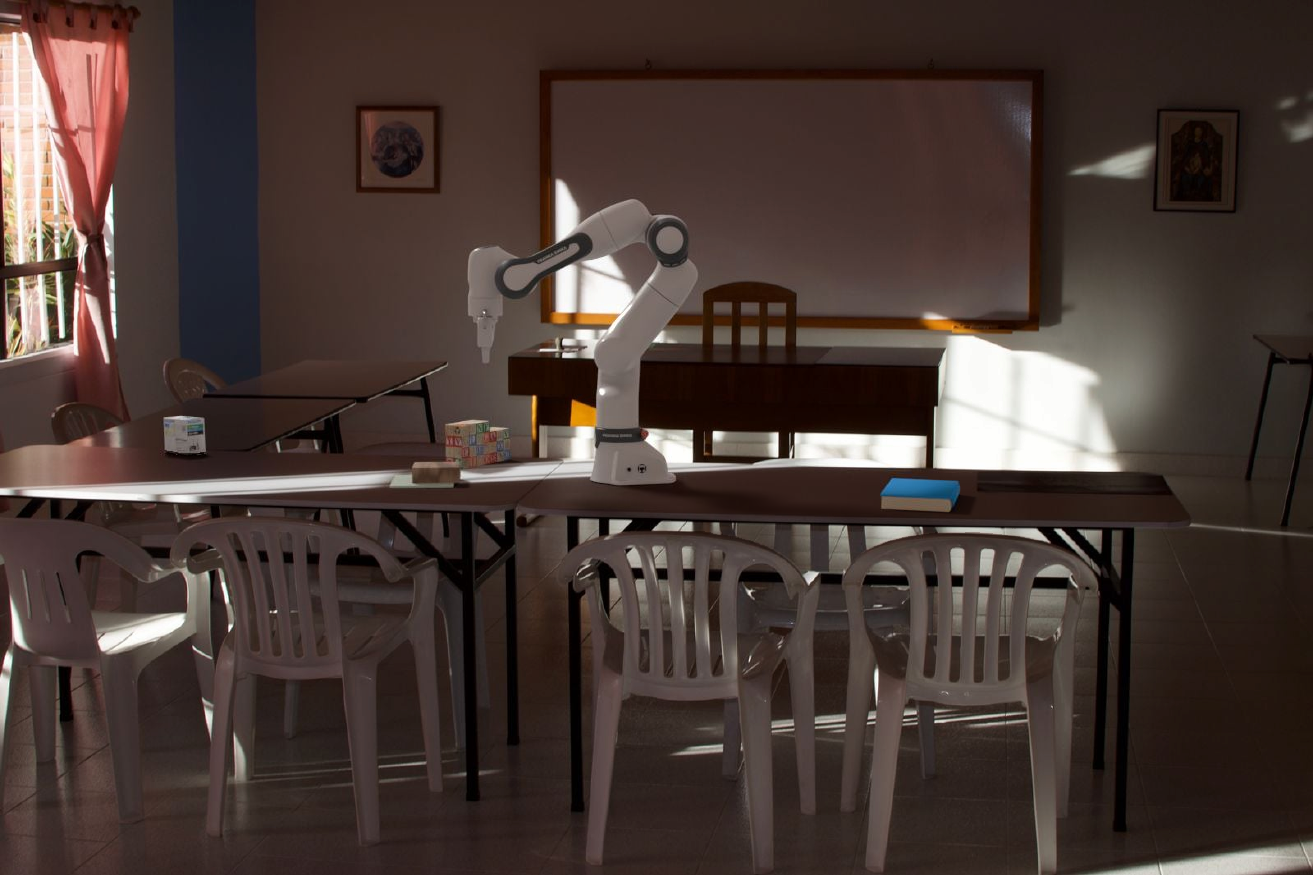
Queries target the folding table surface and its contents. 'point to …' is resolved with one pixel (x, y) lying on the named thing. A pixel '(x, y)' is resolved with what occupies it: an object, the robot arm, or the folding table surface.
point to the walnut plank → (436, 472)
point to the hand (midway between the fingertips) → (486, 362)
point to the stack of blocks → (476, 443)
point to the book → (920, 495)
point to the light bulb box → (184, 434)
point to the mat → (406, 482)
